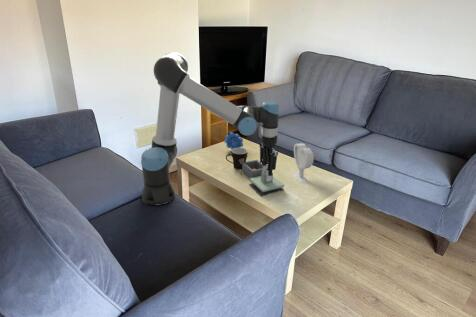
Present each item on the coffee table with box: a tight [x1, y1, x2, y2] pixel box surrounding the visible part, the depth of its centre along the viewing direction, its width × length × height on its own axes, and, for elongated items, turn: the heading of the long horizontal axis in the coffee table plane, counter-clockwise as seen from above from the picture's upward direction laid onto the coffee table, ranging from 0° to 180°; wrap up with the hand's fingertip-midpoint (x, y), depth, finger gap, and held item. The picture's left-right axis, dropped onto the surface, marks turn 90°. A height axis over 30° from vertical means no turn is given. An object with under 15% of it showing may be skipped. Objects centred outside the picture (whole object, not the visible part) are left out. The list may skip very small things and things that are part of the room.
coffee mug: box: [225, 147, 248, 171], centre depth 190 cm, size 12×9×10 cm
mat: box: [248, 182, 285, 197], centre depth 172 cm, size 13×12×1 cm
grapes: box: [223, 132, 244, 151], centre depth 209 cm, size 12×7×12 cm, turn 92°
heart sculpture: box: [291, 143, 315, 185], centre depth 178 cm, size 16×5×18 cm, turn 16°
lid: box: [249, 171, 285, 192], centre depth 170 cm, size 12×13×6 cm
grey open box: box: [241, 159, 263, 180], centre depth 182 cm, size 9×11×6 cm
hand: (266, 178), depth 170 cm, fingers open, 3 cm apart
